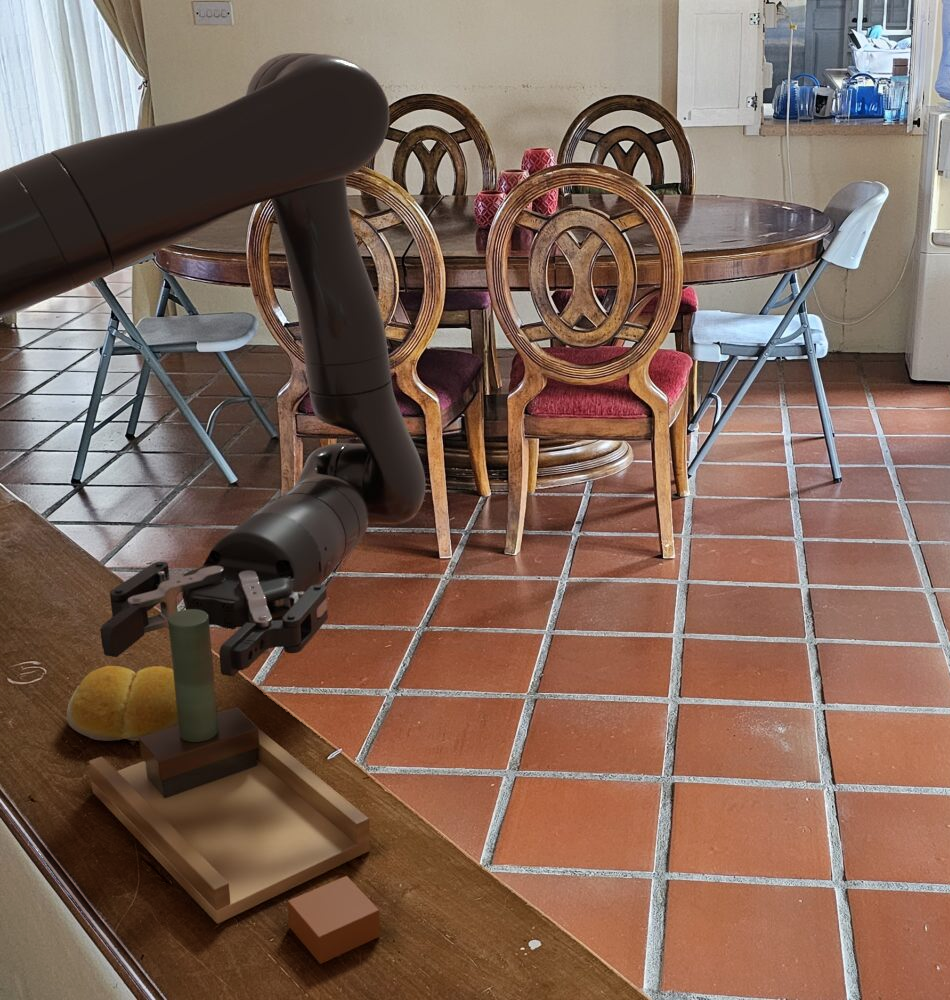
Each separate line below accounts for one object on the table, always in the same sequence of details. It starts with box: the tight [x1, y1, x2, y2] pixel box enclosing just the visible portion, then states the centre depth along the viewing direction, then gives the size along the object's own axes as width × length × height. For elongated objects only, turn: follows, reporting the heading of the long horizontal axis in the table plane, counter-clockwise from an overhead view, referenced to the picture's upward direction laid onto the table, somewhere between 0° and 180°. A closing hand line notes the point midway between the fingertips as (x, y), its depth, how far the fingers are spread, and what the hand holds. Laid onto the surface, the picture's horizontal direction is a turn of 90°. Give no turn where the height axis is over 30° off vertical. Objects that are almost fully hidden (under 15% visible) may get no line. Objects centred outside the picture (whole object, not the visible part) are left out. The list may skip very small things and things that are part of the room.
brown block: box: [287, 875, 381, 965], centre depth 78 cm, size 4×4×2 cm
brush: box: [138, 609, 259, 798], centre depth 89 cm, size 4×7×12 cm, turn 129°
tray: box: [88, 728, 371, 924], centre depth 88 cm, size 18×11×3 cm, turn 43°
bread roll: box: [66, 665, 178, 742], centre depth 99 cm, size 8×9×4 cm
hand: (165, 653), depth 85 cm, fingers open, 8 cm apart
